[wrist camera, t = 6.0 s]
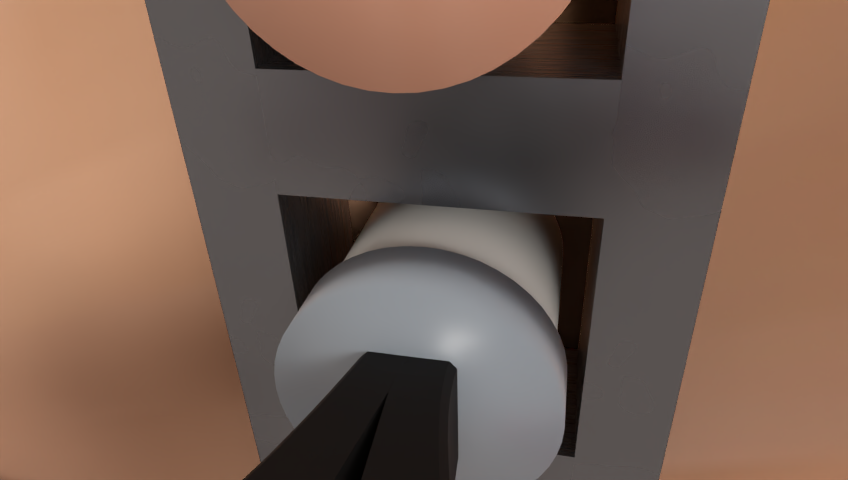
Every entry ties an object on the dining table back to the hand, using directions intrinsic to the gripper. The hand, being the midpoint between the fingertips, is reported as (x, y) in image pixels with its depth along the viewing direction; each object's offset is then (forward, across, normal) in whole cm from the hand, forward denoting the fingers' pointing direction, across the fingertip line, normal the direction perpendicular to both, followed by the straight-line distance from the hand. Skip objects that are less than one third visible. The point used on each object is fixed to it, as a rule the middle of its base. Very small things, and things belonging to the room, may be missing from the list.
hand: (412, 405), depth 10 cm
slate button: (+4, 0, 0) cm, 4 cm away
